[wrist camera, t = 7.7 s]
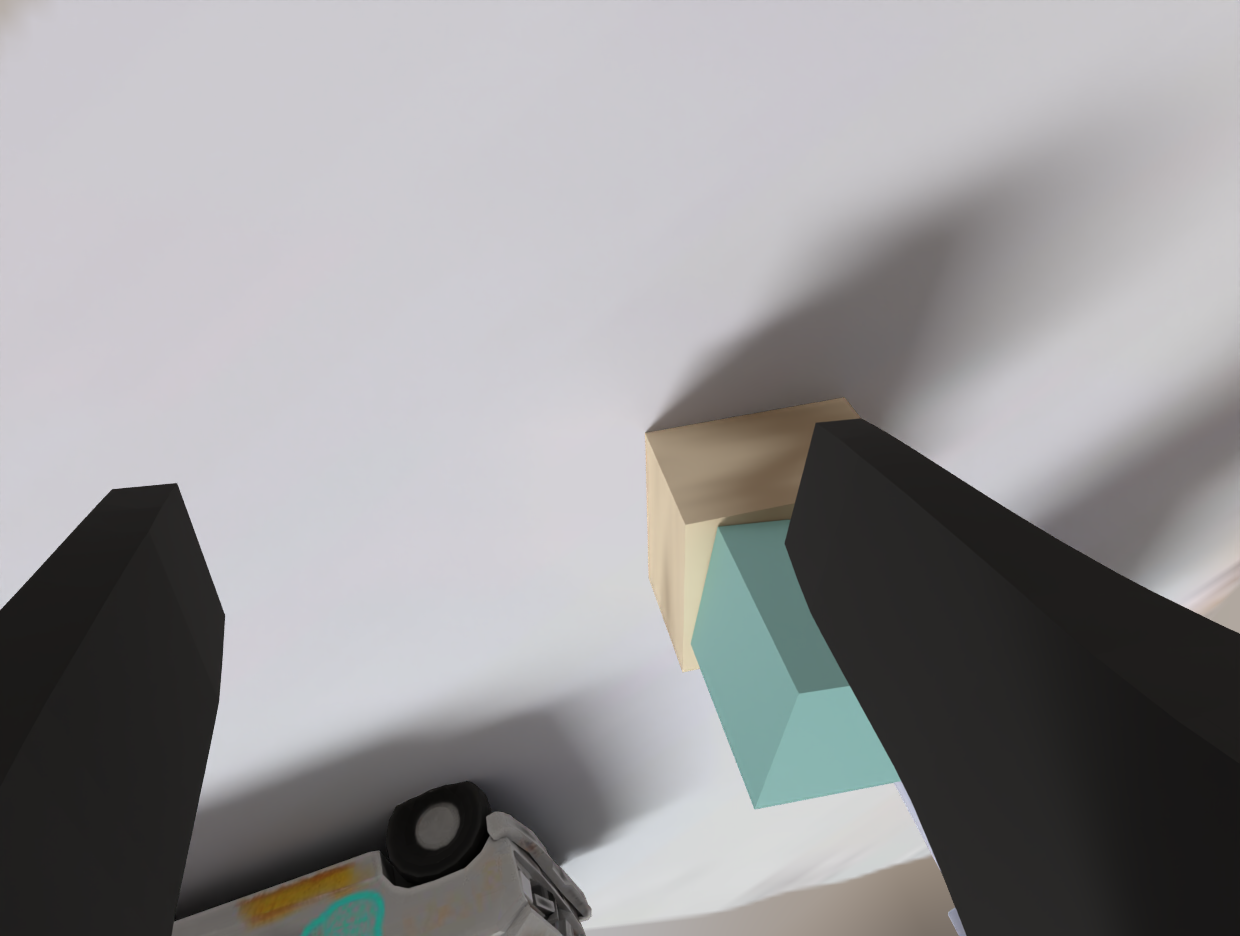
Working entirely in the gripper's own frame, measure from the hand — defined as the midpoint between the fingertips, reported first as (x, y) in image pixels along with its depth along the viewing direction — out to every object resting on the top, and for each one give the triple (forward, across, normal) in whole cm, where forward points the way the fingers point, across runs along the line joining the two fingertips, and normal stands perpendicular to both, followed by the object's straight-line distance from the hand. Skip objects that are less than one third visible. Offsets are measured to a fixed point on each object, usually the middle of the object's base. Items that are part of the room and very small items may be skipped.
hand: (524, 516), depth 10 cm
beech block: (+11, -8, +10) cm, 16 cm away
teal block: (+7, -8, +9) cm, 14 cm away
